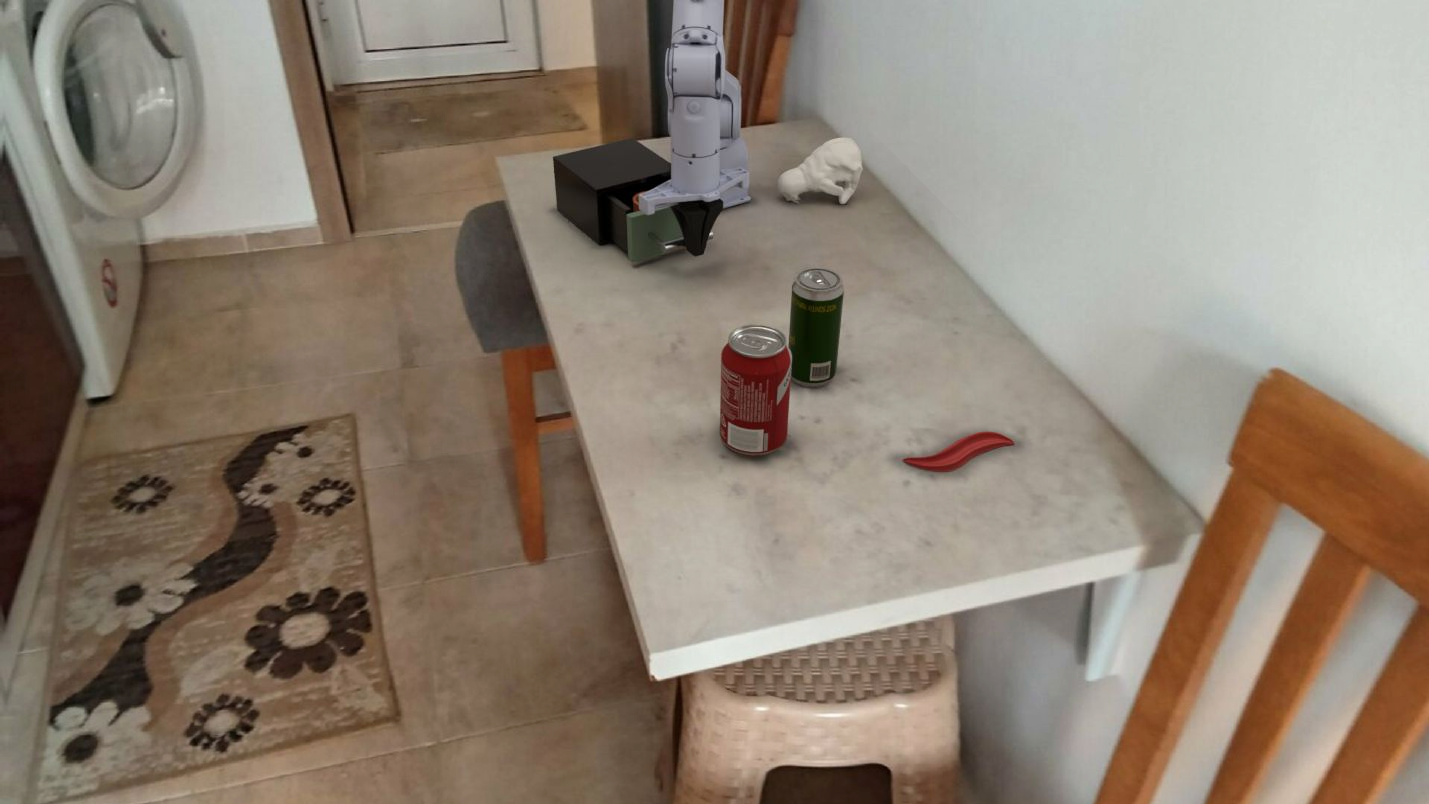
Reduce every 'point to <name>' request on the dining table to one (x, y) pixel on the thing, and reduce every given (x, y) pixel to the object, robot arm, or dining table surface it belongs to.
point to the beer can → (815, 326)
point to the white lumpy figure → (825, 171)
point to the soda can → (755, 390)
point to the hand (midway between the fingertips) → (695, 252)
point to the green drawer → (640, 223)
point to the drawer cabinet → (601, 180)
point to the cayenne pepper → (960, 452)
